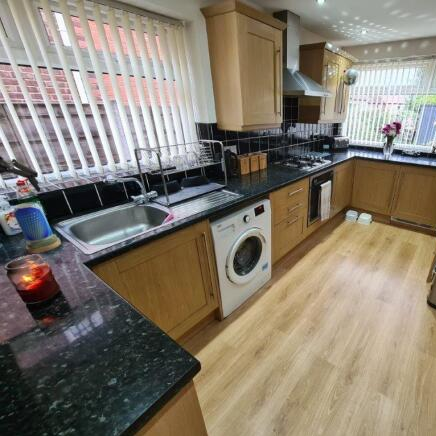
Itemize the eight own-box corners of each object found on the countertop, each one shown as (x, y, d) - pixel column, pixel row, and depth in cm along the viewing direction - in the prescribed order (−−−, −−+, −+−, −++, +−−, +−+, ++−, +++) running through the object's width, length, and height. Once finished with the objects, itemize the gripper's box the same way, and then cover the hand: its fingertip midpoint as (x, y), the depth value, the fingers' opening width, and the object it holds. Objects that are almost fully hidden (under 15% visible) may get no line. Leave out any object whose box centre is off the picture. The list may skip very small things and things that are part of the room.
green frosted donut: (20, 254, 104) (16, 246, 102) (41, 241, 114) (37, 233, 112) (49, 252, 105) (45, 244, 103) (67, 239, 115) (63, 232, 113)
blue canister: (26, 245, 102) (8, 210, 96) (29, 238, 108) (12, 204, 101) (53, 239, 107) (38, 205, 101) (54, 232, 113) (39, 200, 106)
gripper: (25, 155, 112) (54, 191, 113) (-63, 165, 92) (-27, 209, 92) (25, 144, 108) (55, 181, 108) (-67, 152, 88) (-30, 198, 88)
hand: (17, 194), depth 100 cm, fingers open, 13 cm apart
